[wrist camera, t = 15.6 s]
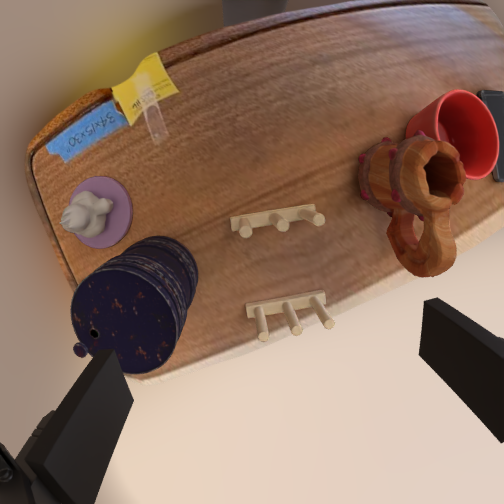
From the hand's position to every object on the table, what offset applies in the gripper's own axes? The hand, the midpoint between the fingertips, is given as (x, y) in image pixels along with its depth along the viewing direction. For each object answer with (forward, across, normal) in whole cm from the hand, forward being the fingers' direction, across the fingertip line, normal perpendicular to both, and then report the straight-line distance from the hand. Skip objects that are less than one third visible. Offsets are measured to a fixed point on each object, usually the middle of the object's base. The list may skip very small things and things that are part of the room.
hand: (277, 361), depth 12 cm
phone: (+26, +43, +12) cm, 52 cm away
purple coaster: (+26, -18, +6) cm, 33 cm away
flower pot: (+27, +26, +10) cm, 39 cm away
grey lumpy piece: (+26, -18, +6) cm, 32 cm away
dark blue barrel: (+27, -12, -3) cm, 29 cm away
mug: (+27, +17, +3) cm, 32 cm away
